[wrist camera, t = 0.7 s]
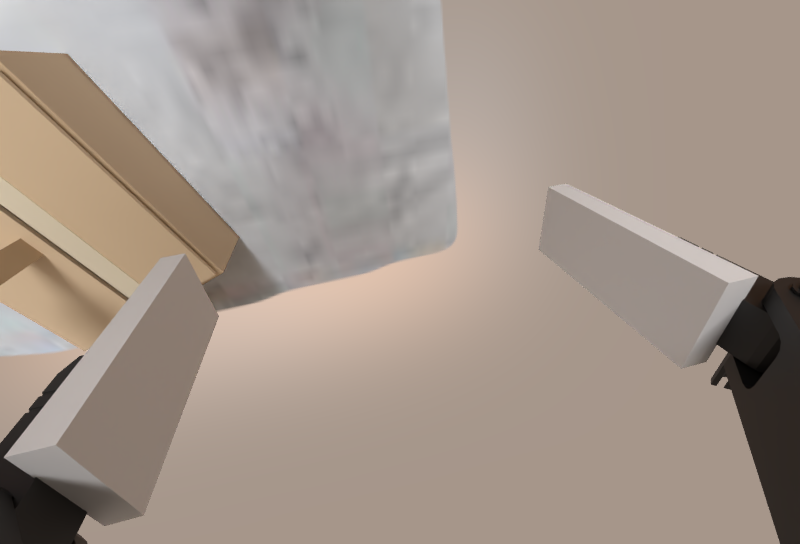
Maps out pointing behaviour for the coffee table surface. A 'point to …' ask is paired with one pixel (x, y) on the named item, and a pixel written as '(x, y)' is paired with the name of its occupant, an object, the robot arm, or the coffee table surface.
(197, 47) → the coffee table surface
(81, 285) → the flap outer
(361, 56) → the coffee table surface
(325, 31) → the coffee table surface
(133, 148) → the carton
